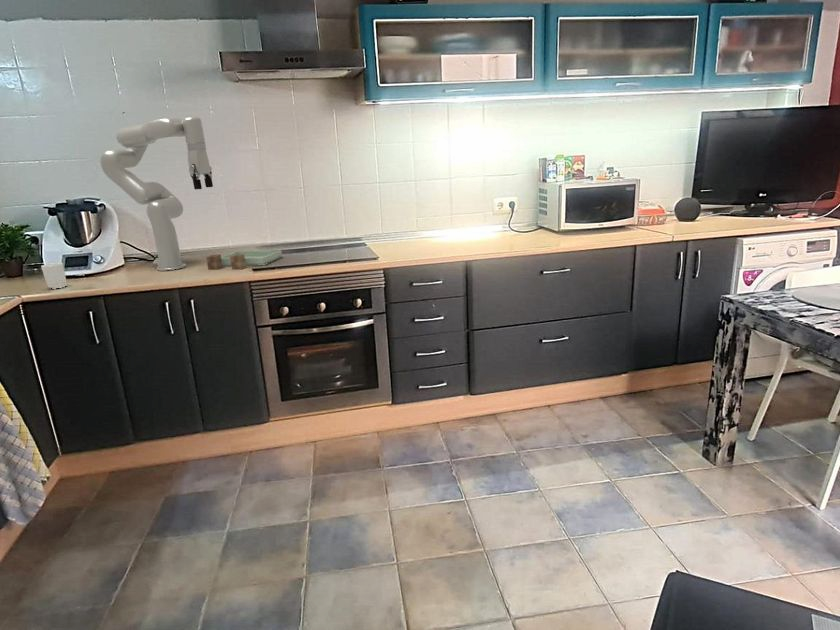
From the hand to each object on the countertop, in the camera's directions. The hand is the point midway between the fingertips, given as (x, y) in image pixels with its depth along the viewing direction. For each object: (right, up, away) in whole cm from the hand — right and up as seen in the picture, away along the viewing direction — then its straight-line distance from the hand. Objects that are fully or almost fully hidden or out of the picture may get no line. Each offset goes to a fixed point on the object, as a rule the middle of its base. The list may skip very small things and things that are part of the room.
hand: (203, 188), depth 250 cm
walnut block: (+2, -35, +9) cm, 36 cm away
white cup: (-58, -44, -9) cm, 74 cm away
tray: (+15, -30, +19) cm, 39 cm away
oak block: (+13, -35, +7) cm, 38 cm away
